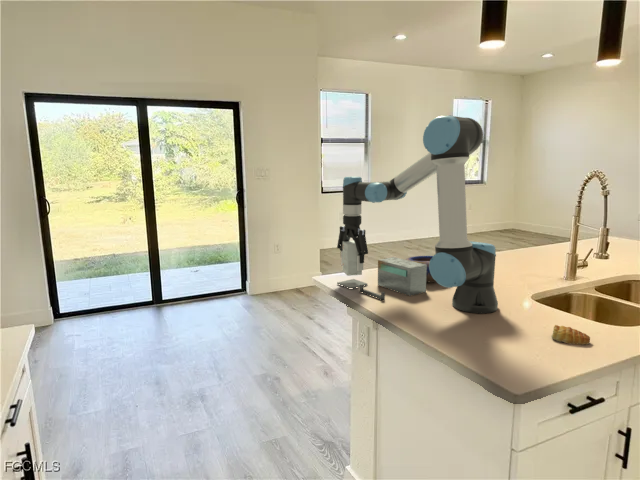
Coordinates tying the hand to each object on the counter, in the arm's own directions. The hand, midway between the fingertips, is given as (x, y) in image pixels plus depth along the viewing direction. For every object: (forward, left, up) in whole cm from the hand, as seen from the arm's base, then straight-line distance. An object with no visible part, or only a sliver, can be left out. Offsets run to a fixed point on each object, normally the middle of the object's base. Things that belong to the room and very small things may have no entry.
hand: (352, 268), depth 176 cm
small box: (0, 0, -2) cm, 2 cm away
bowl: (-13, -31, -8) cm, 35 cm away
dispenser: (-16, -6, -7) cm, 19 cm away
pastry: (-80, -14, -8) cm, 82 cm away
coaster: (0, 0, -7) cm, 7 cm away
